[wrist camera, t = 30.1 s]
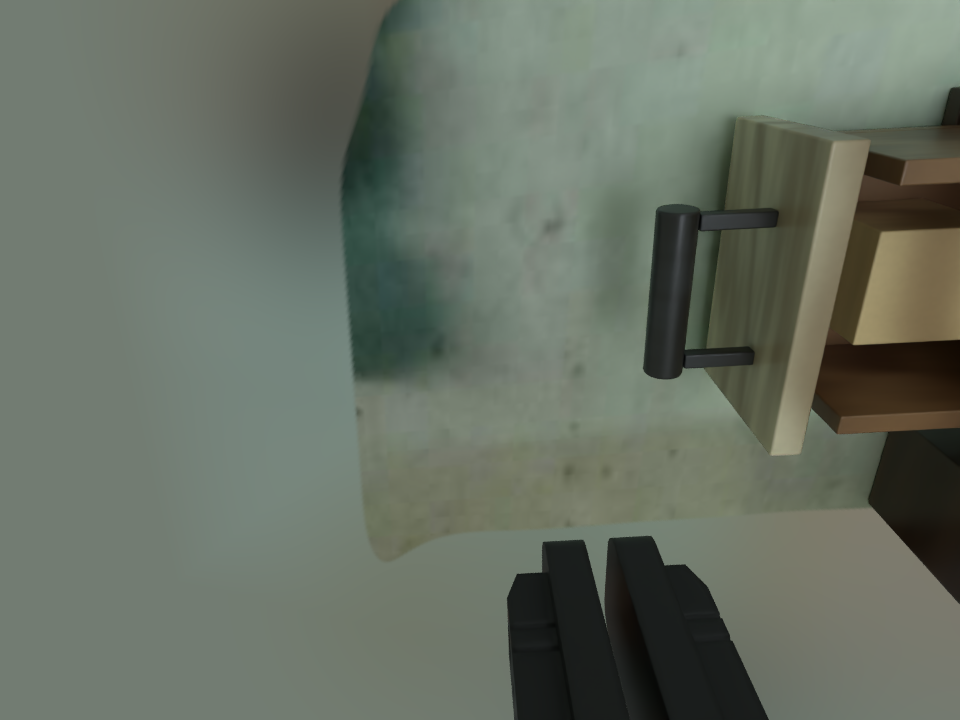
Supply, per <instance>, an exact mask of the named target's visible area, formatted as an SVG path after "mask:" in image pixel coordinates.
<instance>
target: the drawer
mask: <svg viewBox="0 0 960 720" xmlns="http://www.w3.org/2000/svg"><path fill="white" fill-rule="evenodd" d="M903 199H925V200H929V201H932V202H935V203H938V204H941V205H944V206H947V207H950V208H953V209H956V210H959V211H960V125H947V126H927V127H908V128H888V129H868V130H849V131H831V130H827V129H822V128H818V127H813V126H809V125H805V124H800V123H796V122H791V121H787V120H782V119H778V118H773V117H769V116H764V115H762V116H743V117H737V119H736V124H735V132H734V140H733V147H732V155H731V163H730V170H729V178H728V186H727V193H726V201H725V209H724V210H717V211H700V209H699V208H697V207H694V206H691V205H683V204H670V205H664V206H660V207H658V208H657V210H656V218H655V230H654V243H653V255H652V267H651V279H650V291H649V304H648V316H647V328H646V340H645V353H644V365H643V369H644V372H645V373H646V374H647V375H649V376H651V377H653V378H657V379H674V378H677V377H679V376H680V375H681V373H682V369H683V367H684V368H686V369H687V368H704V369H705V371H706V372H707V373H708V375H709V376H710V377H711V379H712V380H713V381H714V383H715V384H716V385H717V386H718V388H719V389H720V390H721V392H722V393H723V394H724V396H725V397H726V398H727V400H728V401H729V402H730V404H731V405H732V406H733V407H734V409H735V410H736V411H737V413H738V414H739V415H740V417H741V418H742V419H743V421H744V422H745V423H746V425H747V426H748V427H749V428H750V430H751V431H752V432H753V434H754V435H755V436H756V438H757V439H758V440H759V442H760V443H761V444H762V445H763V447H764V448H765V449H766V451H767V452H768V453H769V455H771V456H782V455H799V454H801V451H802V446H803V442H804V437H805V433H806V428H807V424H808V419H809V415H810V411H811V408H812V409H813V410H814V411H815V412H816V413H817V414H818V415H819V416H820V417H821V418H822V419H823V420H824V421H825V422H826V423H827V424H828V425H829V426H830V428H831V429H832V430H833V431H834V432H835V433H836V434H853V433H872V432H890V431H908V430H927V429H945V428H960V340H945V341H926V342H906V343H887V344H868V345H852V344H851V343H850V342H848V341H847V340H846V339H844V338H843V337H842V336H840V335H839V334H838V333H836V332H835V331H834V330H832V329H831V328H830V327H829V326H830V322H831V317H832V313H833V308H834V304H835V299H836V295H837V291H838V286H839V282H840V277H841V273H842V268H843V264H844V259H845V255H846V251H847V246H848V242H849V237H850V233H851V228H852V224H853V219H854V215H855V211H856V206H857V202H863V201H883V200H903ZM698 230H699V231H716V230H722V232H721V239H720V247H719V254H718V262H717V270H716V277H715V285H714V293H713V300H712V308H711V316H710V323H709V331H708V339H707V346H706V349H688V350H685V343H686V334H687V325H688V316H689V308H690V299H691V290H692V281H693V272H694V264H695V255H696V246H697V237H698Z"/></svg>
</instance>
